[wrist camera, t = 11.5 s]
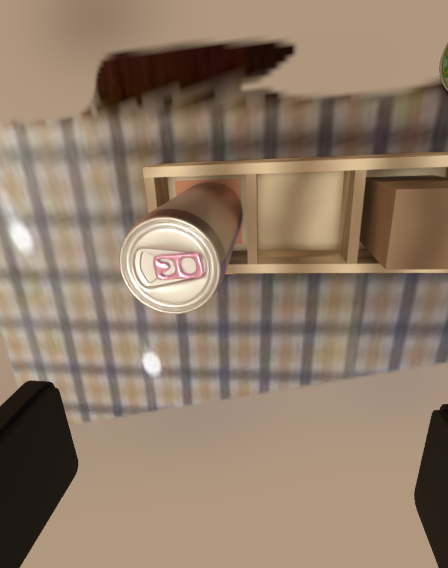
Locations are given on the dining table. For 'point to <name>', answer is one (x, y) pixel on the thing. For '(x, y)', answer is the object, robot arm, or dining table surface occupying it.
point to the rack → (296, 207)
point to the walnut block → (406, 221)
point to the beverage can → (182, 249)
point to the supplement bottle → (444, 68)
